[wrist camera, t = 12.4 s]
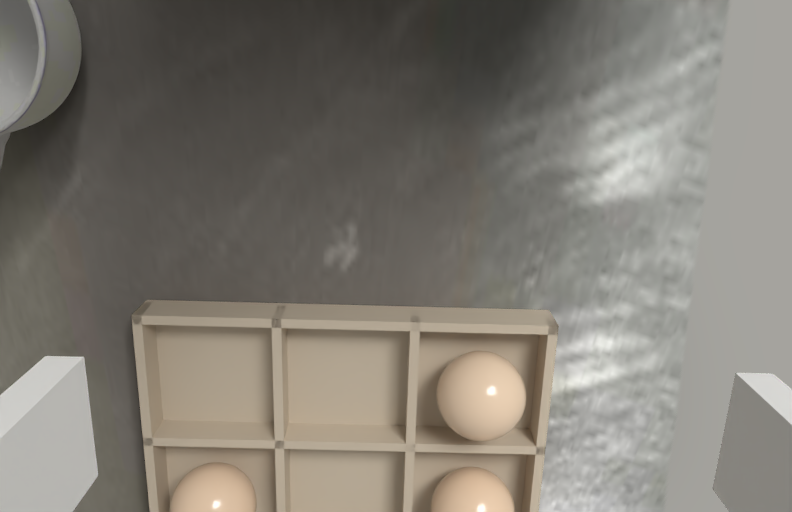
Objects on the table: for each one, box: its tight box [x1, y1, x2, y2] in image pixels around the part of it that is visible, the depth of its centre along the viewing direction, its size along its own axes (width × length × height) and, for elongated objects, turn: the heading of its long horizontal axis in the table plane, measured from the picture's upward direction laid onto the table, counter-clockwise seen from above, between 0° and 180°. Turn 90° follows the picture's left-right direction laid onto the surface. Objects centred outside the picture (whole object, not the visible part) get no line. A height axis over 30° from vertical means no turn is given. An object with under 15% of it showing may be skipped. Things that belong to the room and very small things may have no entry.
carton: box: [131, 300, 559, 512], centre depth 45 cm, size 18×26×3 cm
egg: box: [170, 462, 257, 512], centre depth 44 cm, size 6×6×6 cm
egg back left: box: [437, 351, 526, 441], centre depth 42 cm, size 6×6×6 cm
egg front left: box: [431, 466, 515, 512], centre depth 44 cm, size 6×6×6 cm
